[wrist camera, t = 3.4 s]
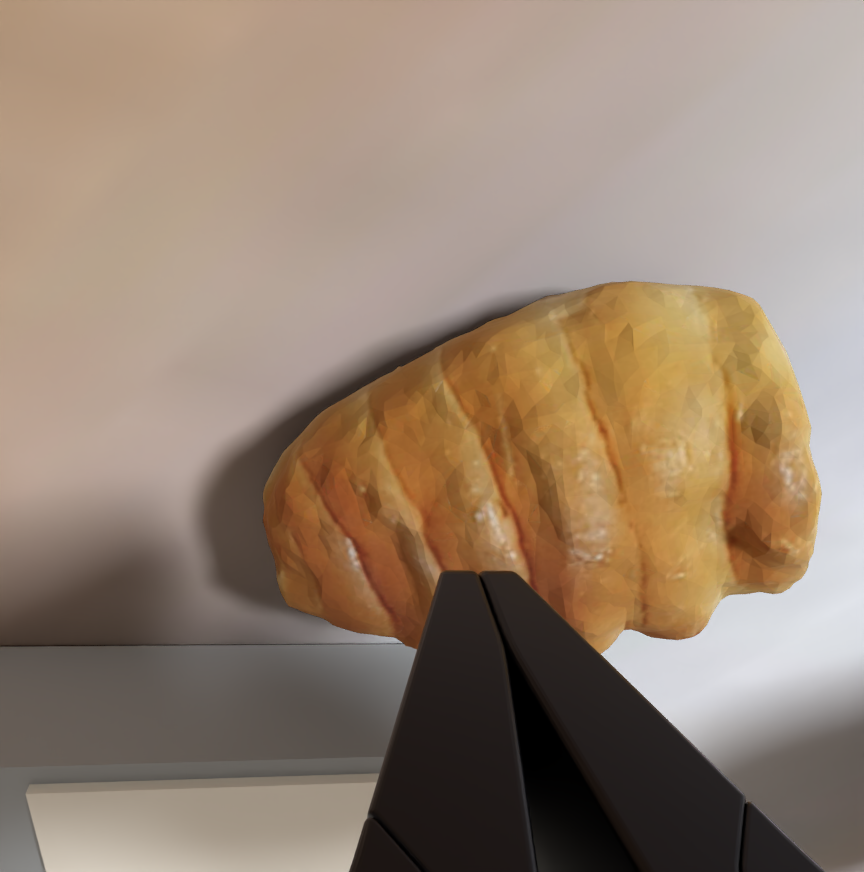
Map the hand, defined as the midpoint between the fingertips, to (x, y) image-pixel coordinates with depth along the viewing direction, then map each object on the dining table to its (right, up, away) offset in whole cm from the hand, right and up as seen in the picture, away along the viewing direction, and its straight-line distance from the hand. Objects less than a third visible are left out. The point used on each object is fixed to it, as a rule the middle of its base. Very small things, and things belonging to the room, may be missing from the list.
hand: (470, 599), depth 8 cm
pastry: (-1, +4, +6) cm, 7 cm away
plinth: (-5, -8, +11) cm, 15 cm away
